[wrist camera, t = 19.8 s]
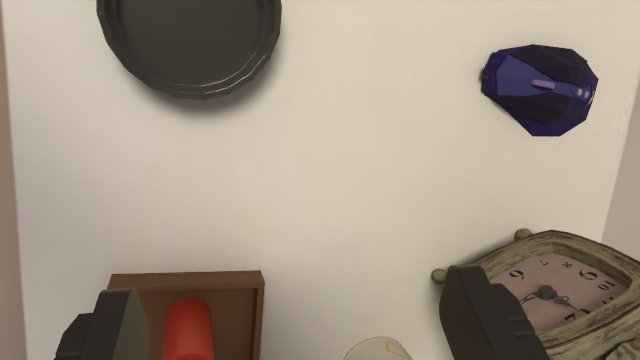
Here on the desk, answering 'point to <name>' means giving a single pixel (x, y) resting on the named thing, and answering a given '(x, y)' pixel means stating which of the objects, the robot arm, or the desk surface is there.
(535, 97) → the computer mouse
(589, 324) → the tabletop clock
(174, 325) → the doll
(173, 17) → the pan
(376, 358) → the white cylinder
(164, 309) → the tray
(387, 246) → the desk surface
